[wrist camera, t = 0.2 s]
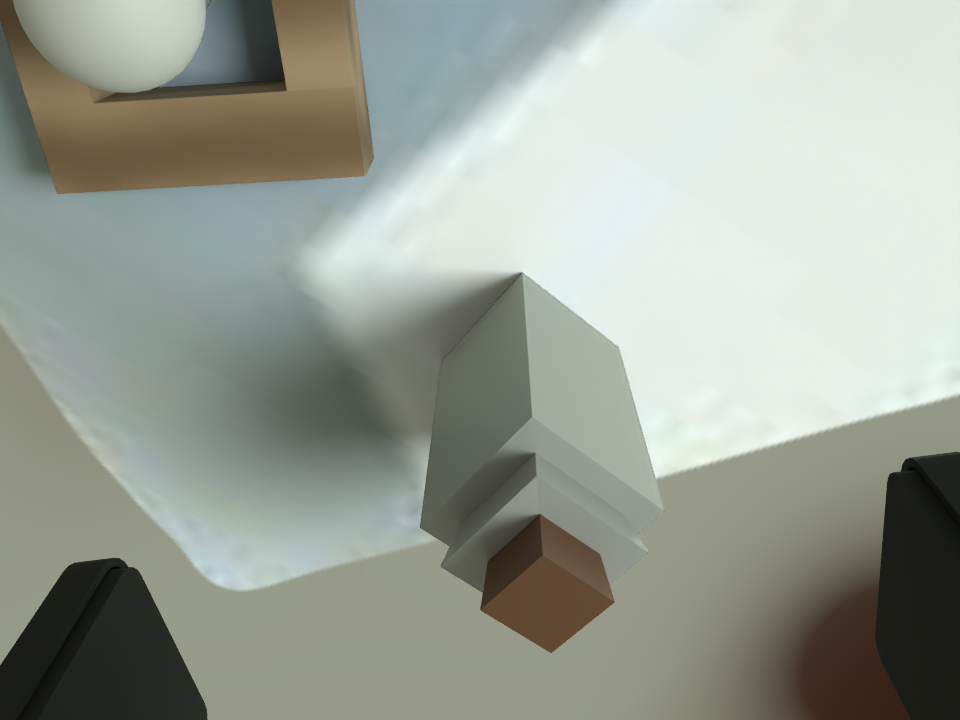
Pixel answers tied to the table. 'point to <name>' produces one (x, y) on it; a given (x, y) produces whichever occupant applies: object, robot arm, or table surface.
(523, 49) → the table surface
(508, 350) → the perfume bottle
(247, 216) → the table surface
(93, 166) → the walnut holder
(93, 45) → the lightbulb
